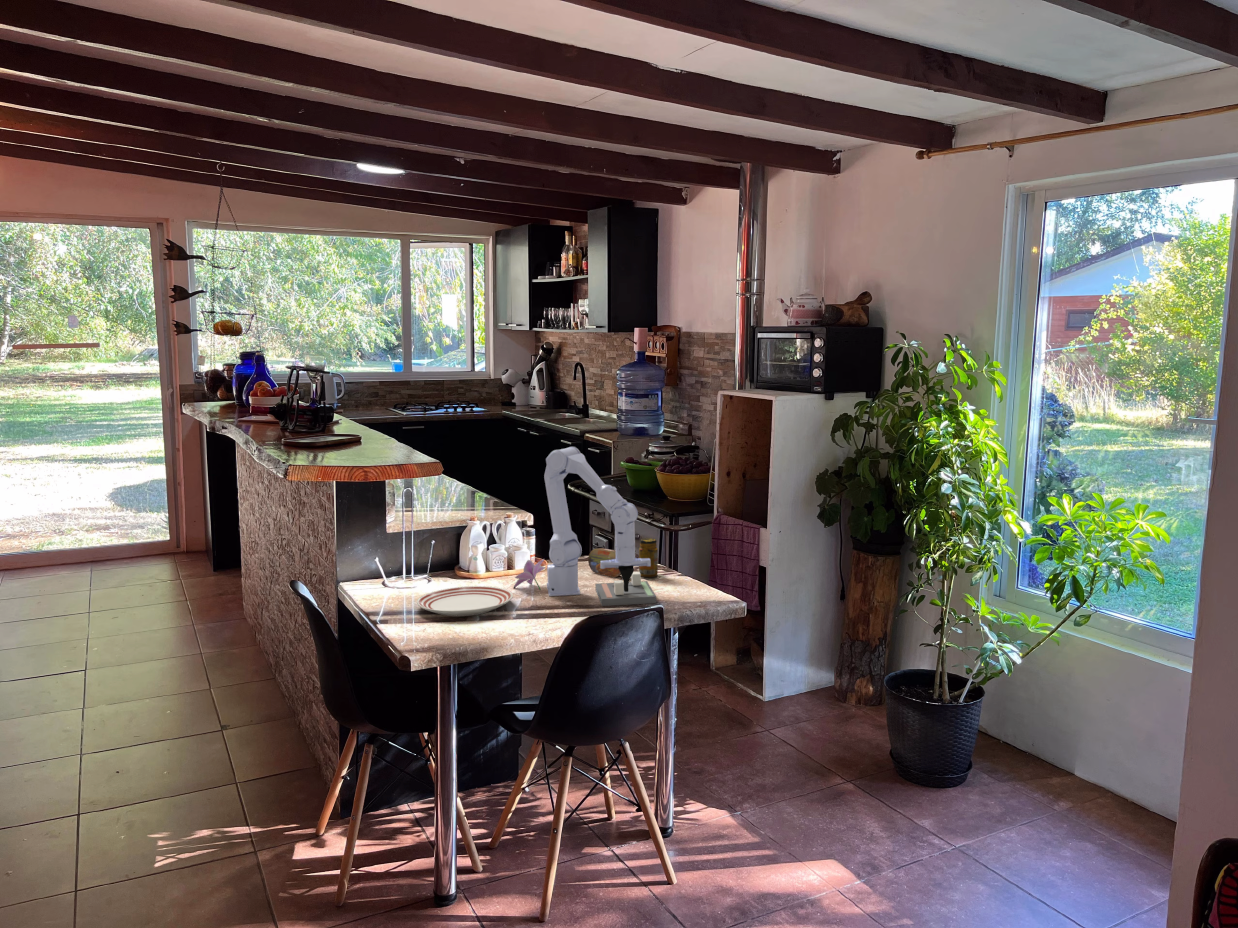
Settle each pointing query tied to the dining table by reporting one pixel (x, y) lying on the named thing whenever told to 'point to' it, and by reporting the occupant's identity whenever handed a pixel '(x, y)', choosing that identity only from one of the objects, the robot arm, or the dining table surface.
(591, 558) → the tin
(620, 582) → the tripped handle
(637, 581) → the handle
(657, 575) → the condiment
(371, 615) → the dining table surface
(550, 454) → the robot arm
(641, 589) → the grey board
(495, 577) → the dining table surface
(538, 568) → the lily
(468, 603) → the dinner plate
